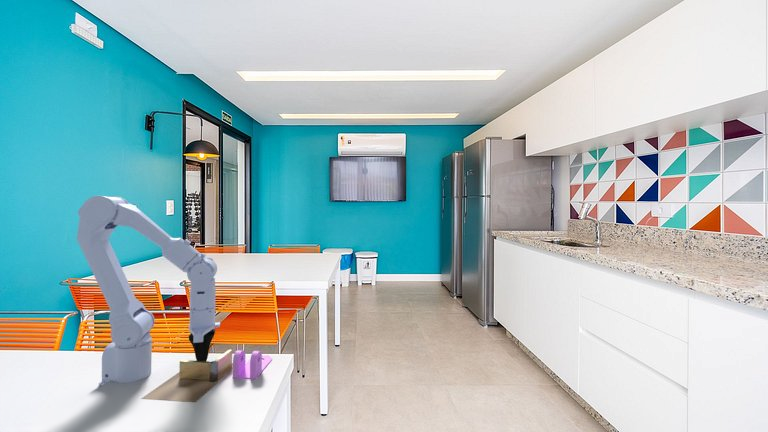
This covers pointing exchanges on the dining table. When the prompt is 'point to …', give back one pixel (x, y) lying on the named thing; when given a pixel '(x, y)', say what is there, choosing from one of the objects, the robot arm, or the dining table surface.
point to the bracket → (249, 364)
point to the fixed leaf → (220, 365)
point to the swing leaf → (194, 369)
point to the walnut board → (183, 389)
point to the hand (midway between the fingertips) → (202, 361)
